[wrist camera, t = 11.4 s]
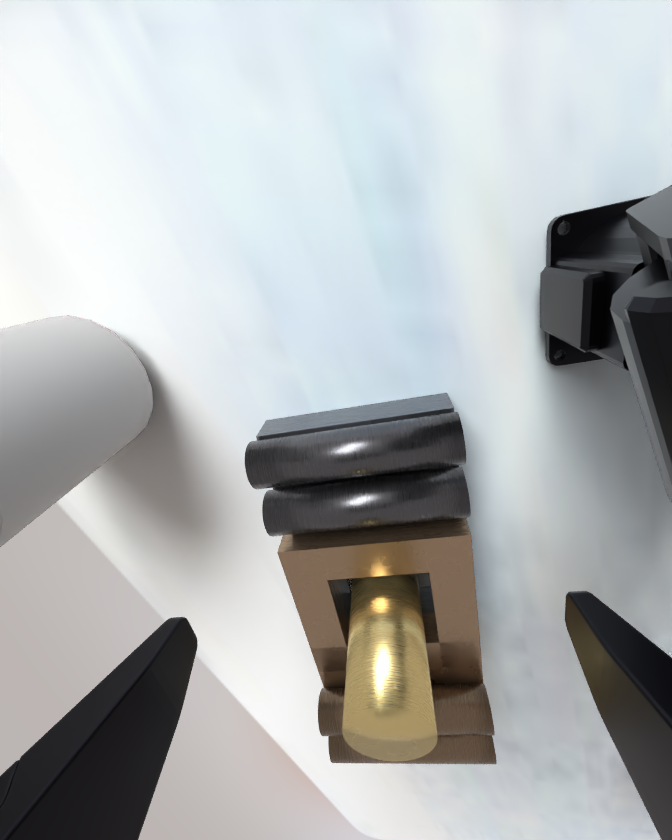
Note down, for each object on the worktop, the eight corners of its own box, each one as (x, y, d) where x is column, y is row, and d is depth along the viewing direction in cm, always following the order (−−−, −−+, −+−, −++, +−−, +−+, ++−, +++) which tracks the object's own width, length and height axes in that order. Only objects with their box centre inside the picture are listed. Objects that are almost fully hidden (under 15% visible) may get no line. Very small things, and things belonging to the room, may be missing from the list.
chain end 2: (455, 487, 22) (483, 572, 17) (472, 666, 29) (497, 772, 23) (292, 506, 24) (265, 589, 18) (342, 670, 31) (334, 770, 25)
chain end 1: (446, 389, 20) (463, 425, 16) (467, 608, 26) (483, 672, 22) (265, 417, 22) (240, 456, 18) (326, 616, 28) (317, 678, 24)
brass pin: (411, 532, 24) (432, 706, 15) (418, 579, 26) (441, 761, 17) (348, 538, 25) (333, 708, 16) (359, 583, 26) (351, 761, 17)
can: (148, 315, 20) (-125, 403, 9) (171, 442, 23) (-12, 620, 12) (14, 309, 20) (-394, 384, 10) (53, 434, 24) (-220, 597, 13)
